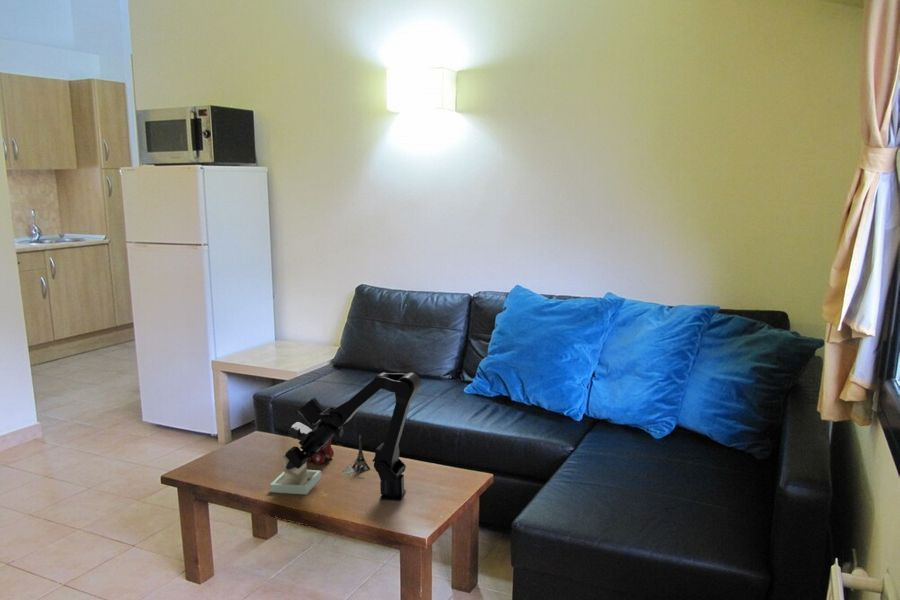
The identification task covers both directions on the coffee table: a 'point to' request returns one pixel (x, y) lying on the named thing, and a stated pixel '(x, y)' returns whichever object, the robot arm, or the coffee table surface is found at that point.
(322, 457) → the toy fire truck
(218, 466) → the coffee table surface
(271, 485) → the frame
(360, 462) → the eiffel tower figurine
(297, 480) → the maple block
